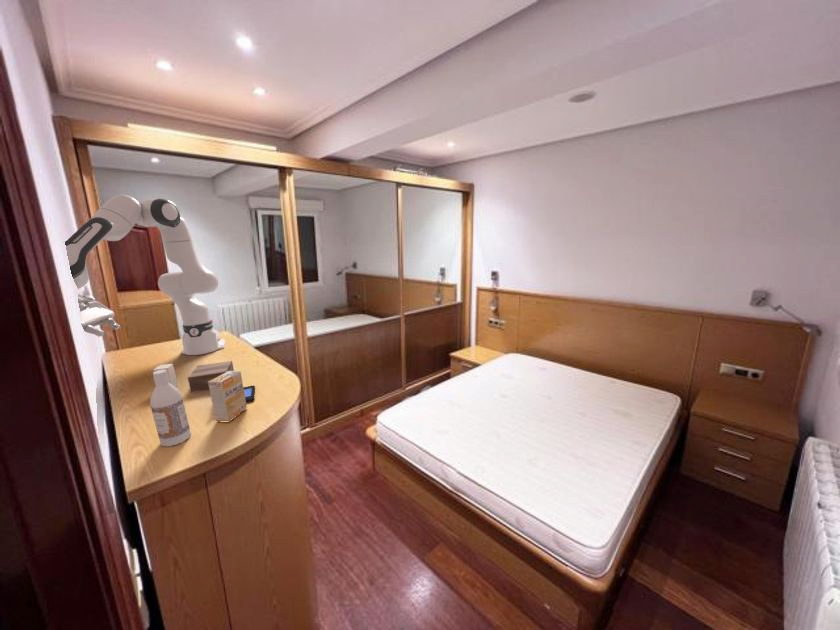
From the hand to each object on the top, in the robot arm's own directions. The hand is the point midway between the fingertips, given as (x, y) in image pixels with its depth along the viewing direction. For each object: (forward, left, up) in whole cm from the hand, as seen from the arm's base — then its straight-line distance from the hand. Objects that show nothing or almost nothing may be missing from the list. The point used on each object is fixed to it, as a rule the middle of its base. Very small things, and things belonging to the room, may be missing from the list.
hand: (110, 331), depth 121 cm
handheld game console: (+20, +41, -24) cm, 52 cm away
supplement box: (+33, +42, -23) cm, 59 cm away
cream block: (+3, +14, -23) cm, 28 cm away
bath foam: (+42, +30, -23) cm, 57 cm away
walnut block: (+3, +29, -24) cm, 38 cm away
